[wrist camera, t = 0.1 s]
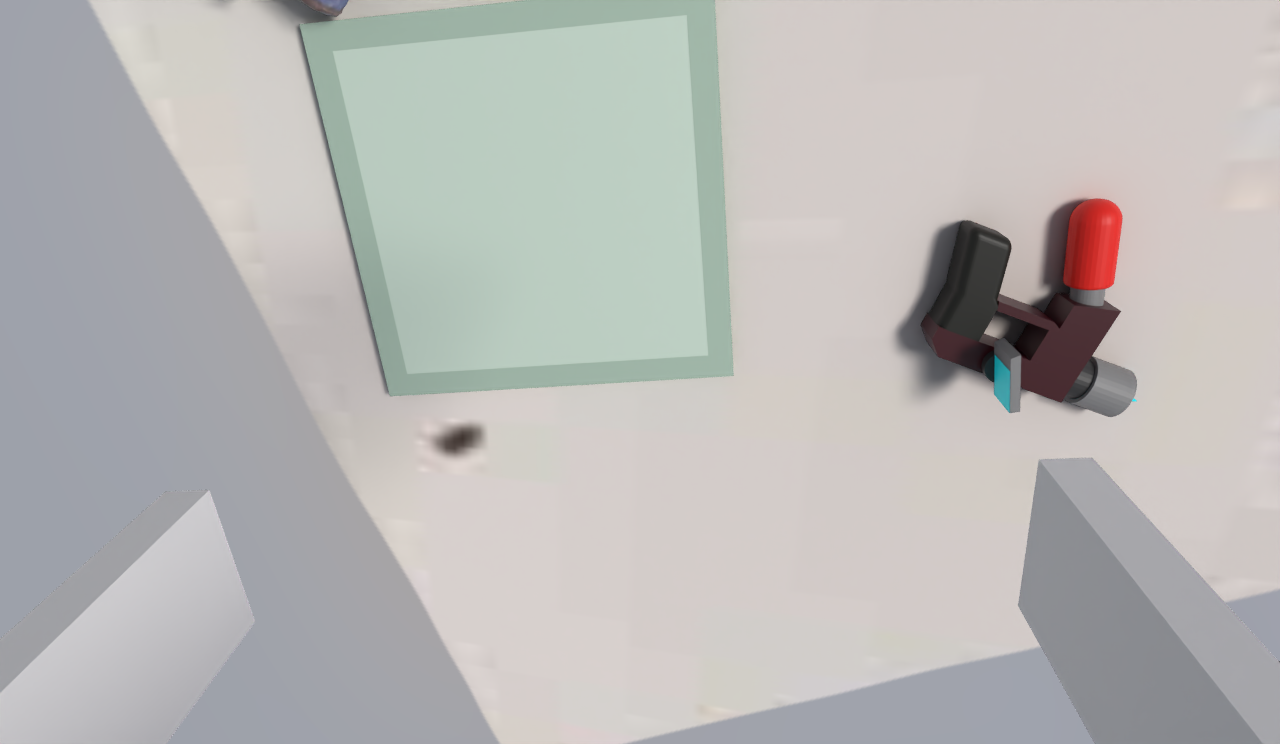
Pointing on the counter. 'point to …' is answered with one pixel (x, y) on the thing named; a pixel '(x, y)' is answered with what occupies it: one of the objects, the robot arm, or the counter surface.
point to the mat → (533, 190)
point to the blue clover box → (326, 6)
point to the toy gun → (1037, 317)
